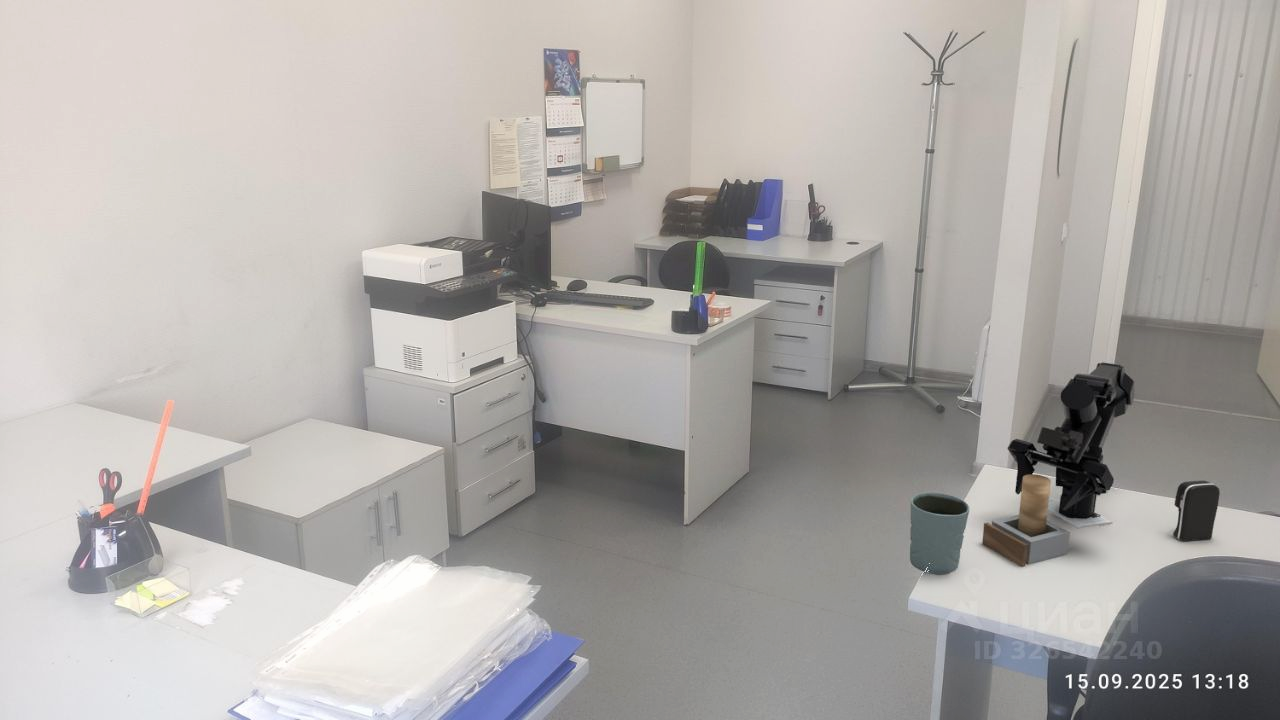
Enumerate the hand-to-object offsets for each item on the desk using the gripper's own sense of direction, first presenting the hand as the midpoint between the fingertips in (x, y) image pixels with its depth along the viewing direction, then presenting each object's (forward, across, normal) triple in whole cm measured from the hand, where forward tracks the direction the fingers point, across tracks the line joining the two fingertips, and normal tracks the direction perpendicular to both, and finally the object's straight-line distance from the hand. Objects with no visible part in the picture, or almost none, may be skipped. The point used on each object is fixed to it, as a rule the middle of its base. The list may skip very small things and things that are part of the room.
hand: (1039, 501), depth 168 cm
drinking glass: (+21, -8, -8) cm, 24 cm away
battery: (-12, +17, +26) cm, 33 cm away
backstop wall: (+12, -2, +1) cm, 13 cm away
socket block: (+8, 0, +5) cm, 9 cm away
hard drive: (-6, -2, +21) cm, 22 cm away
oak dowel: (+7, 0, +4) cm, 8 cm away
